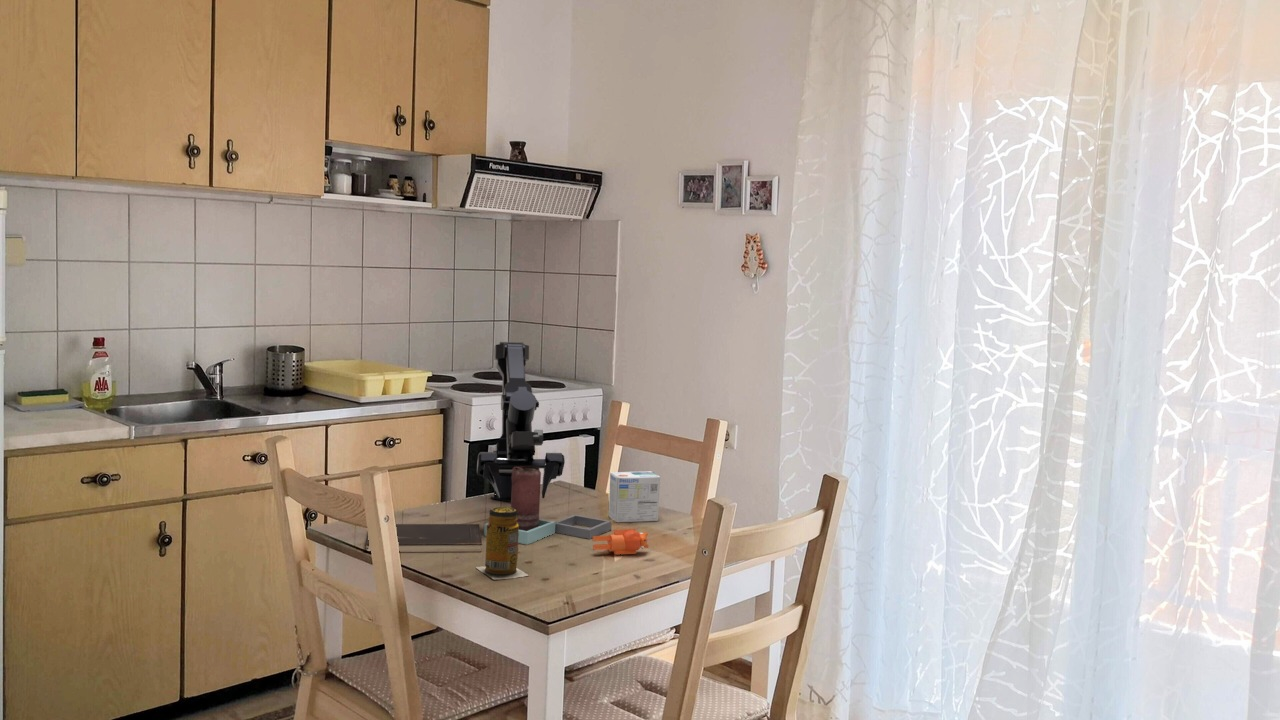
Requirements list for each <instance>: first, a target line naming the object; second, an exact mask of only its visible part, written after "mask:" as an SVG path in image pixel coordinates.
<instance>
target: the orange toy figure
mask: <svg viewBox="0 0 1280 720" xmlns="http://www.w3.org/2000/svg"><path fill="white" fill-rule="evenodd" d="M647 537H648V532H639V531H636V529H635V528H625V529H624V528H623V529H613V534H609V535H598V536H593V538H592V542H607V543H605V544H603V543H602V544H592V550H593V551H595V550H597V551H598V550H600V551H601V550H608V551H609V552H613V555H614V556H616V555H618V556H619V555H620V554H621V555H636V554H637V551H639V550H640V549H643V548H646V549H649V545H648V543H647V542H648V538H647Z"/></svg>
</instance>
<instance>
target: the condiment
mask: <svg viewBox="0 0 1280 720" xmlns="http://www.w3.org/2000/svg"><path fill="white" fill-rule="evenodd" d="M488 520H489V521H488V522H487V523H488V524H487V536H485V537H486V540H485V558H484V559H485V560H484V561H485V563H484V566H483V565H482V566H476V567H475V568H476V569H477V570H478V571H479V572H481V573H482V574H485V575H486V576H487V577H489V578H490V579H492V580H494V581H495V580H499V581H500V580H507V579H509V580H510V579H517V578H524V577H528V576H530V575H528V573H526V572H524V571H523V570H521V569H519V568H518V567H517V566H518V565H517V564H518V554H519V553H518V552H519V543H518V536H519V532H518V531H519V526H518V523H517V510H516V509H514V508H511V506H510V507H509V506H495V507H492V508H491V509H490V510H489V517H488Z"/></svg>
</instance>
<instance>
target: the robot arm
mask: <svg viewBox="0 0 1280 720" xmlns="http://www.w3.org/2000/svg"><path fill="white" fill-rule="evenodd" d="M493 360H494V361H496V370H497V372H498V373H499V375H500V376H501V377H502V389H501V390H502V394H501V395H500V410H501V436H500V437H499V439H498V441H497V442H496V444H495V450H492V451H480V452H479V453H478V455H477V460H476V461H477V463H476V475H477V476H479V477H483V479H484V480H485V479H486V480H487V481H488V482H489V483H490V484H491V485H492V487H493V495H490V496H489V499H492V500H496V501H497V500H498V501H503V502H510V503H511V493H512V469H513V468H514V467H518V466H533V467H537V468H539V470H541V469H543V477H542V485H541V486H542V487H541V497H542V499H545V497H546V494H547V491H548V487H549V486H550V483H551V481H552V480H555V479H557V477H560V476H563V475H562V474H563V473H564V472H563V471H564V467H565V463H566V462H565V461H566V460H565V455H564V454H563V453H561V452H546V453H545V457H544V458H534V456H535V454H536V446H543V444H544V431H543V429H534V430H533V427H532V425H533V424H532V422H533V420H534V417H535V411H537V408H539V407H540V402H539V401H538V399H537V397H536V395H535V394H533V389H532V385H531V384H529V383H527V381H526V370H525V367H526V364H527V363H526V362H528V361H529V360H530V345H528V344H525V342H518V341H516V342H515V341H514V342H513V341H510V342H509V341H499V342H498V344H495V345H494V349H493ZM494 494H496V495H494Z"/></svg>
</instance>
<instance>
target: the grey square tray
mask: <svg viewBox="0 0 1280 720" xmlns="http://www.w3.org/2000/svg"><path fill="white" fill-rule="evenodd" d="M555 522H556V523H555V532H556V533H555V534H560V533H561V535H565V534H566V536H570V535H571V537H576V538H581V539H586V538H587V540H591V539H593V536H601V535H603V534H604V533H607V532H610V531H612V520H607V519H601V518H596V517H590V516H585V515H579V514H574V513H573V514H572V515H569V516H567V517H565V518H564V517H563V518H561V519H559V520H556V521H555ZM576 524H577V525H576ZM582 525H583V526H582ZM581 526H582V527H581ZM587 526H588V528H587ZM602 533H603V534H602Z"/></svg>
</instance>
